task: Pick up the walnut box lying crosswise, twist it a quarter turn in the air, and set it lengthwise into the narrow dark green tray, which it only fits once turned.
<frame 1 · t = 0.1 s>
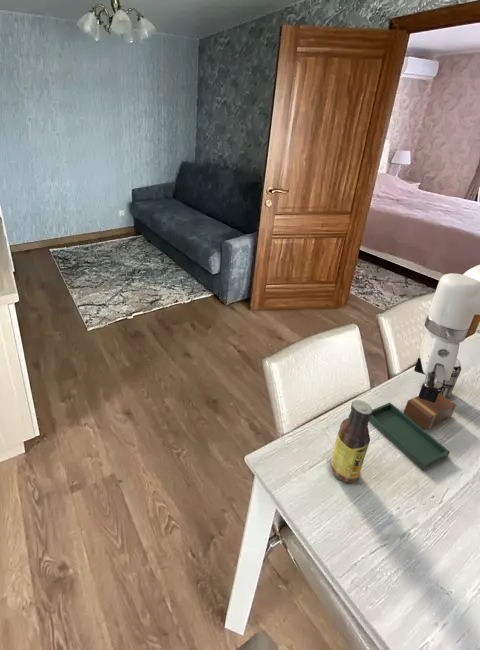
hand: (423, 385, 84), 17 cm above the table, tool pointing down, fingers open, 9 cm apart
sauce bottle: (343, 470, 82), on the table
walnut box: (426, 415, 96), on the table
tray: (403, 436, 90), on the table
beverage can: (436, 391, 105), on the table
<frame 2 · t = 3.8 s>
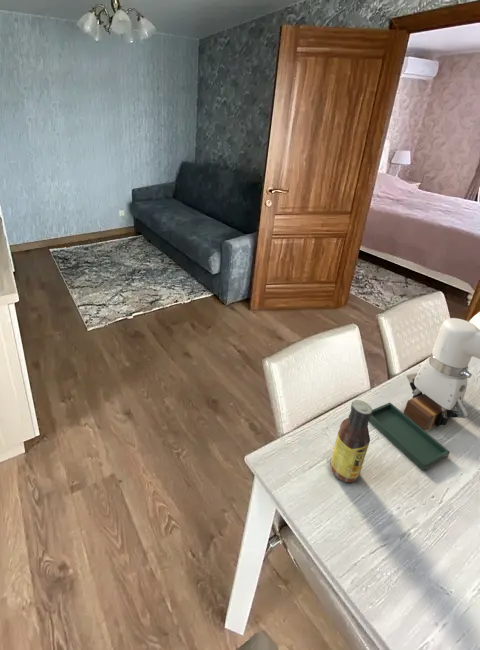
hand: (427, 414, 96), 1 cm above the table, tool pointing down, fingers closed on walnut box, 6 cm apart
walnut box: (426, 416, 96), on the table, touching gripper
everything else where it was.
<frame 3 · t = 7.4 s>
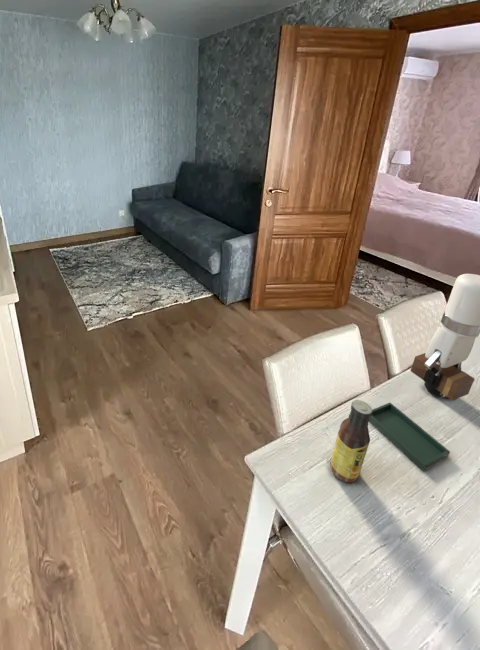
hand: (438, 380, 90), 14 cm above the table, tool pointing down, fingers closed on walnut box, 6 cm apart
walnut box: (438, 382, 90), point 13 cm above the table, touching gripper
everything else where it was.
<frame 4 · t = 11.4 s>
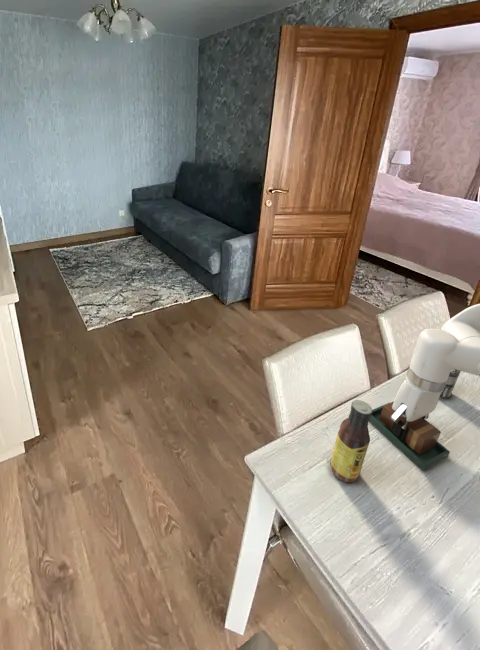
hand: (406, 430, 89), 2 cm above the table, tool pointing down, fingers closed on walnut box, 6 cm apart
walnut box: (406, 432, 90), point 1 cm above the table, touching gripper
everything else where it was.
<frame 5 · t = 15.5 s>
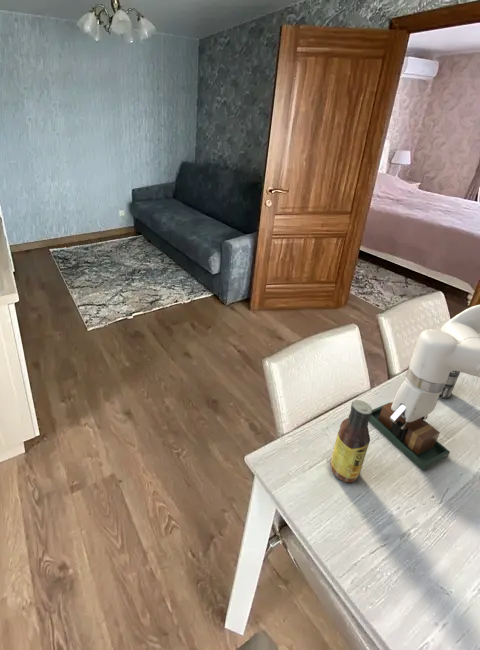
hand: (405, 431, 90), 2 cm above the table, tool pointing down, fingers closed on walnut box, 6 cm apart
walnut box: (404, 432, 90), point 1 cm above the table, touching gripper
everything else where it was.
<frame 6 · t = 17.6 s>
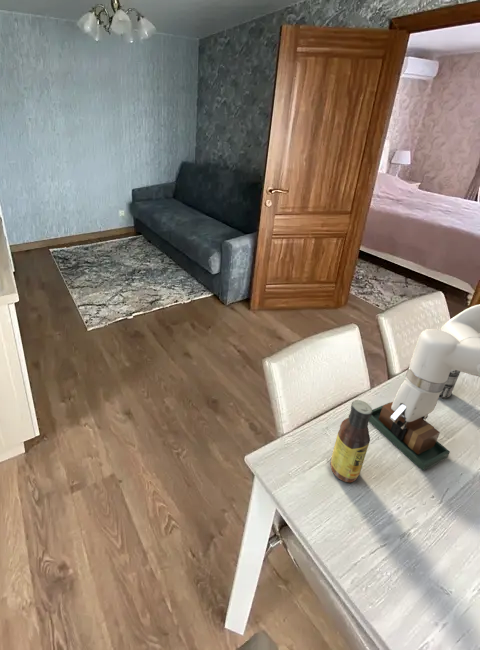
hand: (405, 431, 89), 2 cm above the table, tool pointing down, fingers closed on walnut box, 6 cm apart
walnut box: (405, 432, 90), point 1 cm above the table, touching gripper
everything else where it was.
when the fingers open (3 cm above the table, at t = 19.2 s): walnut box drops 1 cm, resting on tray.
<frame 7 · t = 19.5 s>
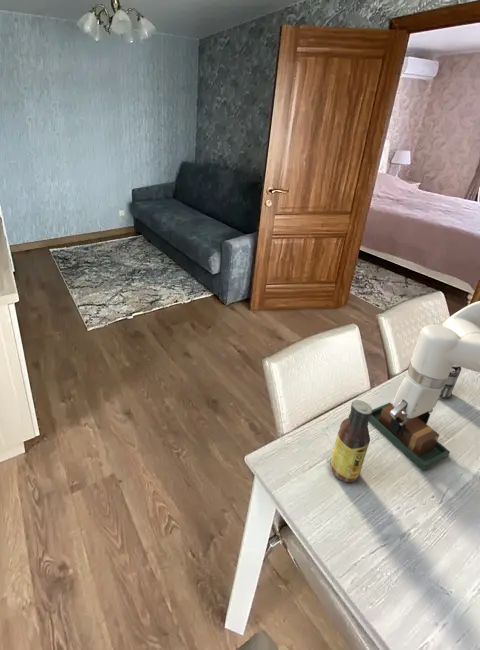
hand: (407, 426, 89), 4 cm above the table, tool pointing down, fingers open, 8 cm apart
walnut box: (404, 434, 90), point 1 cm above the table, touching tray
everything else where it was.
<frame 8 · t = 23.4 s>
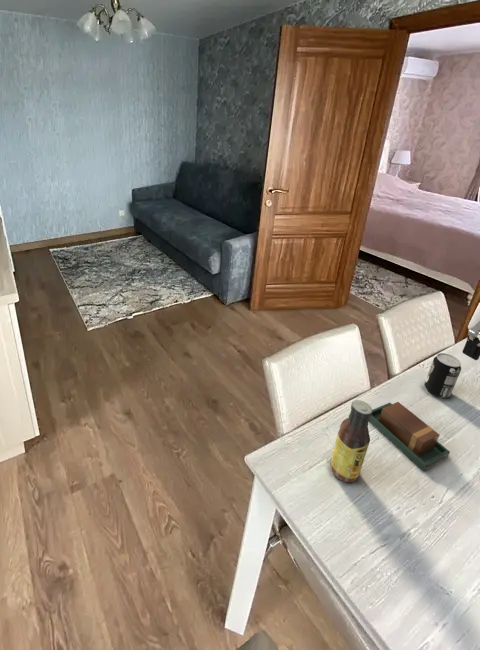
nothing on the table moved.
at the end: walnut box 0.1 cm off-centre in the tray, point 0.5 cm above the tray's base; walnut box tilted 0°; the gripper is holding nothing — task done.
